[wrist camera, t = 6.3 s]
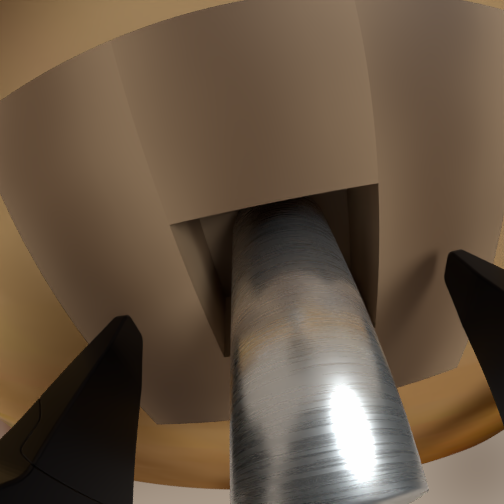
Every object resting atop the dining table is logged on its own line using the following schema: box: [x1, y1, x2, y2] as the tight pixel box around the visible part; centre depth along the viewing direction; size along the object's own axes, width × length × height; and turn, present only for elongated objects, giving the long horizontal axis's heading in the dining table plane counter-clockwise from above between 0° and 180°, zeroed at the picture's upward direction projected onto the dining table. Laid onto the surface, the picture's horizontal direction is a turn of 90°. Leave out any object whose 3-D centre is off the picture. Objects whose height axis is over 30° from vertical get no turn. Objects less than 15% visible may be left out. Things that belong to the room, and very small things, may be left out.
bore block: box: [0, 0, 504, 424], centre depth 10 cm, size 14×14×4 cm
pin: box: [230, 196, 429, 504], centre depth 7 cm, size 3×3×9 cm
